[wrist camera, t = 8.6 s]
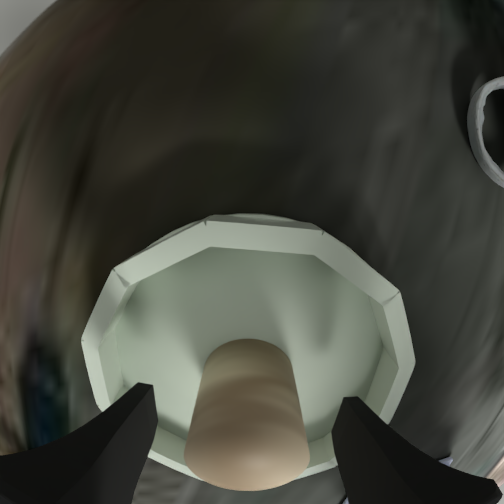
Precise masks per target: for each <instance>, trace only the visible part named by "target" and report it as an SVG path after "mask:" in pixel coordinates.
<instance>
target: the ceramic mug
mask: <svg viewBox="0 0 504 504" xmlns="http://www.w3.org/2000/svg"><path fill="white" fill-rule="evenodd" d="M497 89H504V76H503V77H499V78H495V79H493V80H491V81H489V82H487V83H486V84H484V85H483V86H481V87H480V88H479V89H478V90H477V91H476V93H475V94H474V95H473V97H472V99H471V101H470V104H469V108H468V114H467V128H468V134H469V140H470V144H471V148H472V151H473V154H474V156H475V158H476V160H477V162H478V164H479V166H480V167H481V168H482V170H483V171H484V172H485V173H486V174H487V175H488V176H489V177H490V178H491V179H492V180H493V181H494V182H495V183H497V184H498V185H500V186H502V187H503V188H504V172H503V171H502V170H501V169H500V168H499V166H498V165H497V164H496V163H495V162H493V161H492V159H491V157H490V156H489V154H488V153H487V151H486V149H485V147H484V143H483V137H482V124H483V121H484V114H483V106H484V105H485V101H486V97H487V95H488V94H489V93H490V92H491V91H492V90H497Z"/></svg>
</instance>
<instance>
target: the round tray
mask: <svg viewBox="0 0 504 504" xmlns="http://www.w3.org/2000/svg"><path fill="white" fill-rule="evenodd" d="M81 339H82V340H81V342H82V347H83V352H84V357H85V361H86V366H87V370H88V374H89V378H90V382H91V386H92V390H93V393H94V397H95V400H96V404H97V405H98V407H99V408H100V409H101V411H102V412H103V411H104V410H106V409H107V408H108V407H109V406H111V405H112V404H113V403H114V402H115V401H117V400H118V399H119V398H120V397H121V396H122V395H124V394H125V393H126V392H127V391H128V390H129V389H130V388H132V387H133V386H134V385H135V384H136V383H138V382H140V383H146V384H151V385H153V387H154V395H155V402H156V409H157V415H158V424H157V429H156V433H155V437H154V441H153V444H152V446H151V449H150V452H149V454H148V457H149V458H151V459H154V460H156V461H158V462H160V463H162V464H164V465H166V466H168V467H171V468H173V469H175V470H177V471H180V472H182V473H184V474H187V475H189V476H192V477H194V478H197V479H199V480H202V479H200V478H199V477H197V476H196V475H195V474H194V473H193V472H192V471H191V470H190V469H189V468H188V466H187V465H186V463H185V460H184V450H185V445H186V441H187V436H188V432H189V428H190V424H191V419H192V415H193V411H194V407H195V402H196V398H197V394H198V390H199V386H200V382H201V377H202V373H203V369H204V365H205V362H206V360H207V358H208V357H209V355H210V354H211V353H212V352H213V351H214V350H215V349H216V348H218V347H219V346H221V345H223V344H224V343H227V342H229V341H233V340H237V339H258V340H263V341H266V342H269V343H271V344H273V345H275V346H277V347H278V348H280V349H281V350H282V351H283V352H284V353H285V354H286V355H287V356H288V358H289V360H290V361H291V364H292V367H293V372H294V377H295V382H296V387H297V392H298V397H299V402H300V407H301V412H302V417H303V422H304V427H305V432H306V437H307V442H308V447H309V453H310V461H309V464H308V466H307V468H306V469H305V470H304V472H303V473H302V474H301V475H299V476H298V477H297V478H295V479H299V478H302V477H306V476H309V475H312V474H315V473H318V472H321V471H324V470H327V469H330V468H333V467H336V465H337V466H338V464H337V460H336V457H335V454H334V448H333V442H332V434H331V430H332V428H333V425H334V423H335V420H336V417H337V414H338V412H339V409H340V406H341V403H342V400H343V397H354V396H358V397H359V398H360V399H361V400H362V401H363V402H364V403H365V404H366V405H367V406H368V407H369V408H371V409H372V410H373V411H374V412H375V413H376V414H377V415H378V416H379V417H380V418H381V419H382V420H383V421H384V422H385V423H386V424H387V425H388V424H389V423H390V421H391V419H392V417H393V415H394V413H395V411H396V409H397V407H398V404H399V402H400V400H401V398H402V395H403V393H404V391H405V389H406V386H407V384H408V381H409V379H410V377H411V374H412V372H413V369H414V366H415V356H414V351H413V345H412V340H411V336H410V331H409V326H408V322H407V317H406V313H405V309H404V305H403V301H402V297H401V293H400V292H399V290H398V289H397V288H396V287H395V286H393V285H392V284H391V283H390V282H389V281H387V280H386V279H385V278H384V277H382V276H381V275H380V274H379V273H377V272H376V271H375V270H374V269H373V268H371V267H370V266H369V265H368V264H367V263H366V262H365V261H364V260H363V259H361V258H360V257H359V256H358V255H357V254H356V253H355V252H354V251H353V250H352V249H350V248H349V247H348V246H346V245H345V244H343V243H342V242H340V241H339V240H337V239H336V238H334V237H333V236H331V235H330V234H328V233H326V232H325V231H323V230H322V229H321V228H319V227H318V226H316V225H315V224H312V223H307V222H300V221H297V220H294V219H290V218H287V217H282V216H276V215H269V214H263V213H235V214H227V215H213V216H212V215H210V216H208V217H206V218H204V219H202V220H198V221H195V222H192V223H190V224H187V225H185V226H183V227H180V228H178V229H176V230H173V231H172V232H170V233H168V234H167V235H165V236H164V237H162V238H160V239H159V240H157V241H155V242H154V243H152V244H151V245H149V246H148V247H147V248H146V249H144V250H142V251H140V252H138V253H136V254H134V255H133V256H131V257H130V258H128V259H126V260H125V261H123V262H122V263H120V264H119V265H117V266H116V267H114V269H112V271H111V273H110V275H109V277H108V279H107V281H106V283H105V285H104V287H103V290H102V292H101V294H100V296H99V298H98V300H97V303H96V305H95V307H94V309H93V312H92V314H91V316H90V319H89V321H88V323H87V326H86V328H85V331H84V333H83V336H82V338H81ZM295 479H294V480H295ZM202 481H204V480H202Z"/></svg>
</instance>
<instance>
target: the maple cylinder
mask: <svg viewBox="0 0 504 504" xmlns="http://www.w3.org/2000/svg"><path fill="white" fill-rule="evenodd" d="M184 460H185V463H186V465H187V466H188V468H189V469H190V470H191V471H192V472H193V473H194V474H195V475H196V476H197V477H199V478H200V479H202V480H204V481H206V482H208V483H210V484H213V485H215V486H218V487H222V488H226V489H232V490H240V491H256V490H265V489H270V488H274V487H278V486H281V485H284V484H286V483H288V482H290V481H292V480H294V479H295V478H297V477H298V476H299V475H301V474H302V473H303V472H304V470H305V469H306V468H307V466H308V464H309V461H310V453H309V447H308V442H307V437H306V432H305V427H304V422H303V417H302V412H301V407H300V402H299V397H298V392H297V387H296V382H295V377H294V372H293V367H292V364H291V361H290V360H289V358H288V356H287V355H286V354H285V353H284V352H283V351H282V350H281V349H280V348H278V347H277V346H275V345H273V344H271V343H269V342H266V341H263V340H258V339H237V340H233V341H229V342H227V343H224V344H223V345H221V346H219V347H218V348H216V349H215V350H214V351H213V352H212V353H211V354H210V355H209V357H208V358H207V360H206V362H205V365H204V369H203V373H202V377H201V382H200V386H199V390H198V394H197V398H196V402H195V407H194V411H193V415H192V419H191V424H190V428H189V432H188V436H187V441H186V445H185V450H184Z"/></svg>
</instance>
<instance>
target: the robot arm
mask: <svg viewBox="0 0 504 504" xmlns="http://www.w3.org/2000/svg"><path fill="white" fill-rule="evenodd" d="M157 424H158V415H157V409H156V402H155V395H154V387H153V385H151V384H146V383H140V382H138V383H136V384H135V385H134V386H133V387H132V388H130V389H129V390H128V391H127V392H126V393H125V394H124V395H122V396H121V397H120V398H119V399H118V400H117V401H115V402H114V403H113V404H112V405H111V406H109V407H108V408H107V409H106V410H104V411H103V412H102V413H100V414H99V415H98V416H96V417H95V418H93V419H92V420H91V421H89V422H88V423H86V424H85V425H83V426H82V427H80V428H78V429H77V430H75V431H73V432H71V433H70V434H68V435H66V436H64V437H62V438H60V439H57V440H55V441H53V442H50V443H48V444H46V445H43V446H40V447H37V448H34V449H31V450H27V451H24V452H19V453H15V454H9V455H3V456H0V504H131V503H132V499H133V495H134V491H135V488H136V485H137V482H138V479H139V477H140V474H141V472H142V469H143V467H144V464H145V462H146V459H147V457H148V454H149V452H150V449H151V446H152V444H153V441H154V437H155V433H156V429H157ZM331 434H332V442H333V448H334V454H335V457H336V460H337V464H338V467H339V471H340V474H341V477H342V480H343V484H344V487H345V490H346V494H347V498H346V500H345V501H344V502H343V504H497V503H498V502H499V500H500V499H501V497H502V495H503V494H502V492H501V491H500V489H499V487H498V486H497V484H496V482H495V481H494V480H492V479H488V478H483V477H479V476H475V475H471V474H468V473H465V472H462V471H459V470H457V469H454V468H452V467H450V466H449V465H450V464H451V462H452V461H453V459H452V457H448V458H445V459H442V460H439V461H437V460H435V459H433V458H431V457H430V456H428V455H426V454H425V453H423V452H422V451H420V450H419V449H417V448H416V447H414V446H413V445H411V444H410V443H409V442H407V441H406V440H405V439H404V438H402V437H401V436H400V435H399V434H397V433H396V432H395V431H394V430H393V429H392V428H391V427H389V426H388V425H387V424H386V423H385V422H384V421H383V420H382V419H381V418H380V417H379V416H378V415H377V414H376V413H375V412H374V411H373V410H372V409H371V408H369V407H368V406H367V405H366V404H365V403H364V402H363V401H362V400H361V399H360V398H359V397H358V396H354V397H343V400H342V403H341V406H340V409H339V412H338V414H337V417H336V420H335V423H334V425H333V428H332V430H331Z"/></svg>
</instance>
